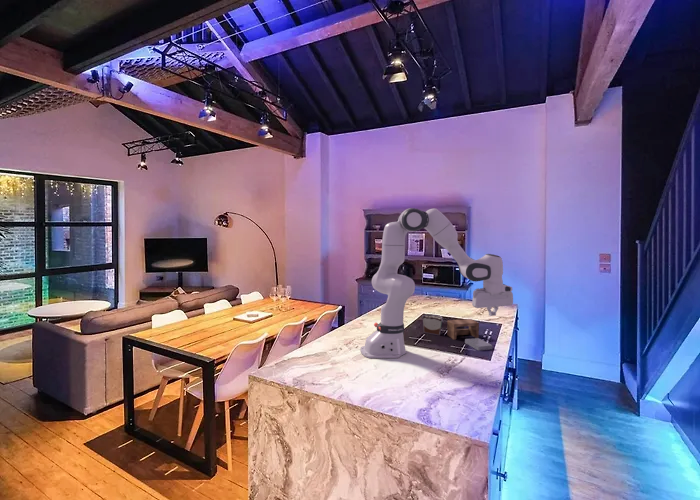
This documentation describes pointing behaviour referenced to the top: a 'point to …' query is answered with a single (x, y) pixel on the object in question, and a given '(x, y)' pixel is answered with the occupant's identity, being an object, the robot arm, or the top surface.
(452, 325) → the walnut shelf
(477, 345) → the slate tile
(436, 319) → the food container
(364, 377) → the top surface
